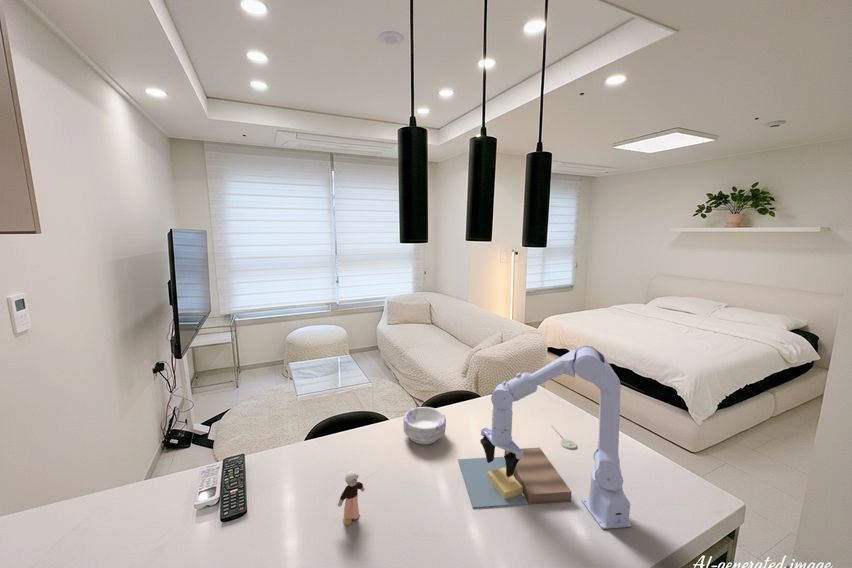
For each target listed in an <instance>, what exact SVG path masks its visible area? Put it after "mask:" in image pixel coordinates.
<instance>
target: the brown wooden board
mask: <svg viewBox="0 0 852 568" xmlns="http://www.w3.org/2000/svg"><path fill="white" fill-rule="evenodd" d="M520 449H521V450H523V457H522V458H521V459H520V460H519V461H518V463H517V465H516V467H515V470H514V473H513V477H514V478H515V479H516V480H517V481H518V482H519V483H520V485H521V486H522V487H523V494H522V495H523V496H524V498H525V500H526V502H527V505H542V504H555V503H569V502H571V500H572V490H571V489H570V488H569V485H568V484H566V482H565V481H564V479H563V478H562V476H561V475H560V473H559V472H558V471H557V470H556V468H555V467H554V465H553V464H552V462H551V461H550V460H549V458H548V457H547V455H546V454H545V453H544V451H543V450H542V449H541V447H524V448H520ZM503 454H504V455H503V457H504V456H505V455H507V454H509V451H507V450H504V453H503Z"/></svg>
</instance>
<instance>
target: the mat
mask: <svg viewBox="0 0 852 568" xmlns="http://www.w3.org/2000/svg"><path fill="white" fill-rule="evenodd" d="M457 461H458V464H459V467H460V472H461V475H462V478H463V481H464V484H465V488H466V490H467V494H468V497H469V500H470V504H471V507H472V509H473V510H474V509H485V508H486V509H488V508H498V507H499V506H502V507H513V506H514V507H515V505H516V506H526V505H528V502H527V500H526V498H525V496H524V494H520V495H517V496H514V497H510V498H507V499H504V498H503V497H502V496H501V494H500V493H499V492H498V490H497V489H496V488H495V487H494V485H493V484H492V483H491V482H490V480H489V479H488V478H487V477H488V471H492V470H496V469H500V468H504V467H505V468H506V462H505V459H504V456H494V460H493V461H492V462H490V463H488V462H487V458H486V457H475V458H458V459H457ZM512 476H513V477H514V475H512ZM487 507H488V508H487Z"/></svg>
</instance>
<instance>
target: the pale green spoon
mask: <svg viewBox="0 0 852 568" xmlns="http://www.w3.org/2000/svg"><path fill="white" fill-rule="evenodd" d="M551 428H553V430H554V432H556V433H557V435H559V437H560V438H561V440H560V445H561V446H562V447H563V448H564V449H568V450H575V449H576V448H577V442H575V441H574V440H572V439H566V438H564V437H563V436H562V435H561V434H560V433H559V432H558V431H557V429H556V428H554V426H553V425H551Z"/></svg>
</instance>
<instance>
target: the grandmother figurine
mask: <svg viewBox="0 0 852 568" xmlns="http://www.w3.org/2000/svg"><path fill="white" fill-rule="evenodd" d="M358 478H359V473H358V472H357V471H354V470H353V471H352V470H350V471H349V472H347V473H346V475H345V477H344V481H345V483H346V484H347V485H346V486H345V488H344V490H343V491H342V493H341V495H340V496H339V500H338V503H337V506H338V507H339V508H340V507H342V506H343V503H344V508H343V519H342V522H343V524H344V526H350V525H351V524H352V523H353V521H352V520H358V519H359V518H360V510H359V500H358V496H359V492H358V491H359V490H360V492H364V491H365V487H364V484H363V482H360V481H358ZM344 500H345V502H344Z"/></svg>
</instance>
